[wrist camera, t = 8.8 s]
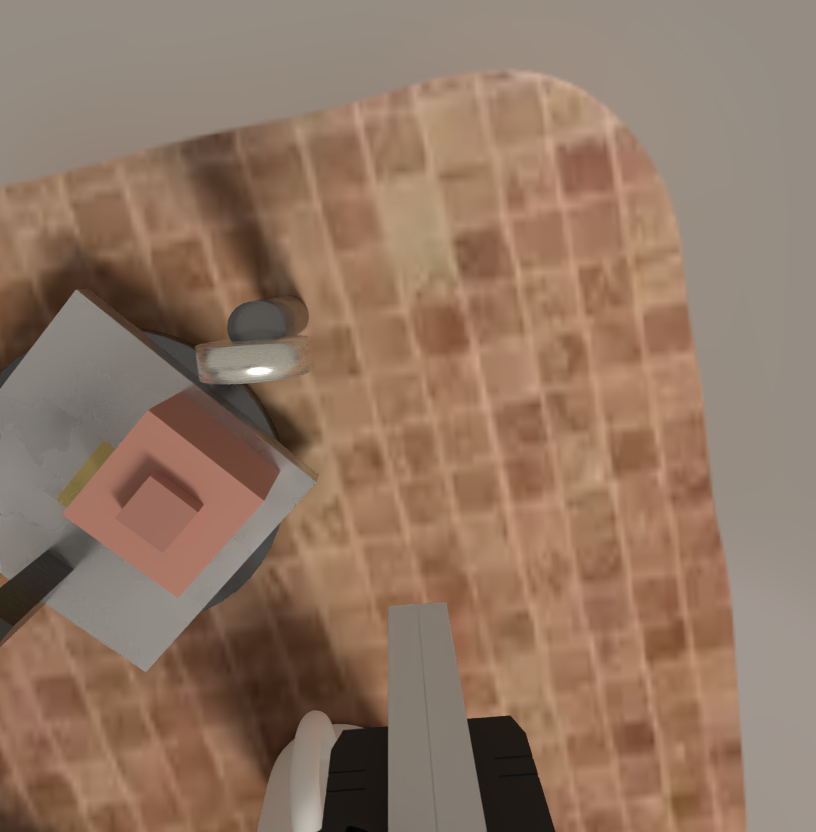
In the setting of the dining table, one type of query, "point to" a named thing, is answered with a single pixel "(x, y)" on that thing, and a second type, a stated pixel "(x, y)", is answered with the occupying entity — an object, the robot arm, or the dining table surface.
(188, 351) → the turntable base
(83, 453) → the turntable
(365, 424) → the dining table surface
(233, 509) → the cover
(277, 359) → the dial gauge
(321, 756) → the mug
